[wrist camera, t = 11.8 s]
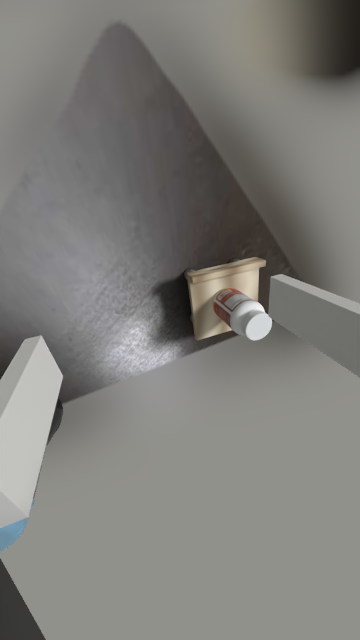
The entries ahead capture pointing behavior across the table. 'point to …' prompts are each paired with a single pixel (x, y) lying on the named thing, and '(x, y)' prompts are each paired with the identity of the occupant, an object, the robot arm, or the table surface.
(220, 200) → the table surface
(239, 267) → the beige small table
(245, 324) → the pill bottle
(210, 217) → the table surface
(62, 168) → the table surface
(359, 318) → the robot arm
